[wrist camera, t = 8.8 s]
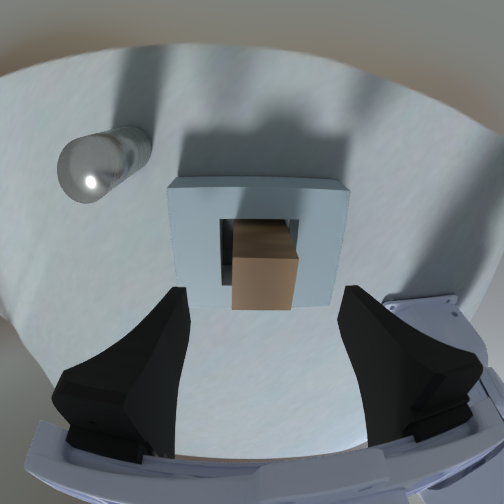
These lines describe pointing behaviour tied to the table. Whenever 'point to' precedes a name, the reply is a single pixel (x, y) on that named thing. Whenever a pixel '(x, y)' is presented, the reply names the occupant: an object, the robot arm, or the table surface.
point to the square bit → (263, 265)
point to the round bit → (101, 162)
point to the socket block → (255, 207)
